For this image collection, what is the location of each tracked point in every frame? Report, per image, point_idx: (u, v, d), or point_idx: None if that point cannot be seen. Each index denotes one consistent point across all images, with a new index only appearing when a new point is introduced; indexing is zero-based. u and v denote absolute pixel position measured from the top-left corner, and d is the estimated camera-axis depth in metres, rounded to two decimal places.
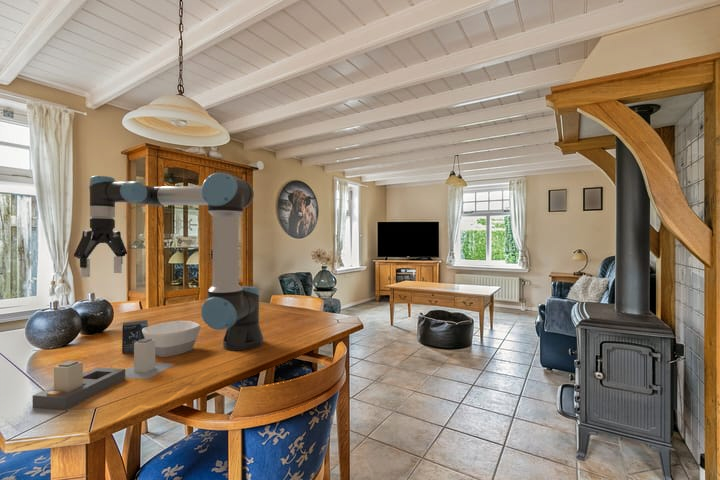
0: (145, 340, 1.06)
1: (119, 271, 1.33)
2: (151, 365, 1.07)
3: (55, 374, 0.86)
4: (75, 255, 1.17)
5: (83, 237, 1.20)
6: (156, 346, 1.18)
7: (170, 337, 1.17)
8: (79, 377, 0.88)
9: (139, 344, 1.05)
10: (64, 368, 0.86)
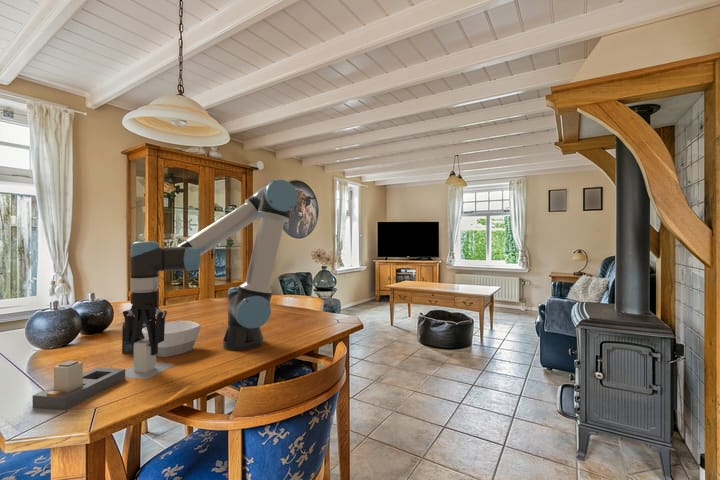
0: (145, 340, 1.06)
1: None
2: None
3: (55, 374, 0.86)
4: None
5: None
6: None
7: (170, 337, 1.17)
8: (79, 377, 0.88)
9: (139, 344, 1.05)
10: (64, 368, 0.86)
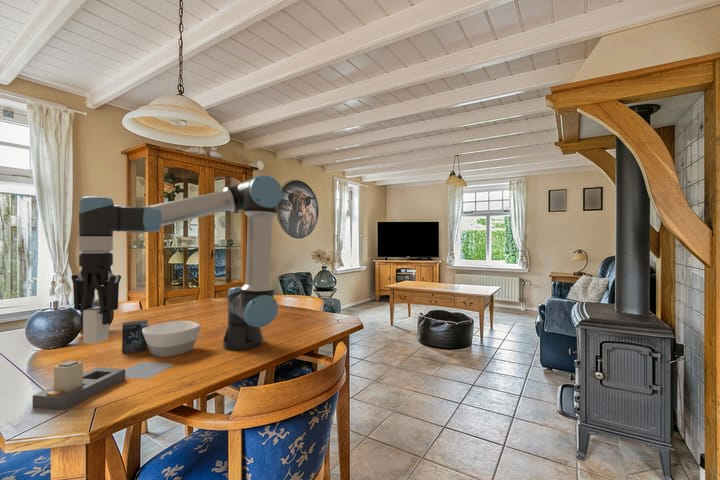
0: (96, 307, 0.95)
1: None
2: (103, 336, 0.96)
3: (55, 374, 0.86)
4: None
5: None
6: (156, 346, 1.18)
7: (170, 337, 1.17)
8: (79, 377, 0.88)
9: (89, 311, 0.93)
10: (64, 368, 0.86)
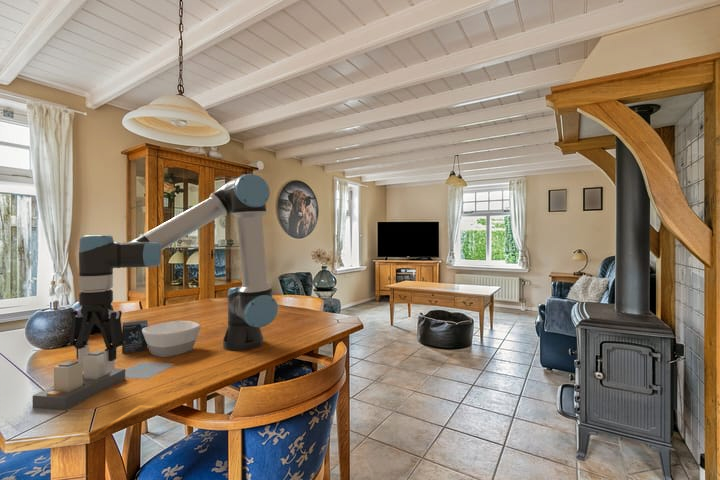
0: (97, 352, 0.95)
1: None
2: None
3: (55, 374, 0.86)
4: None
5: None
6: (156, 346, 1.18)
7: (170, 337, 1.17)
8: (79, 377, 0.88)
9: (89, 357, 0.94)
10: (64, 368, 0.86)
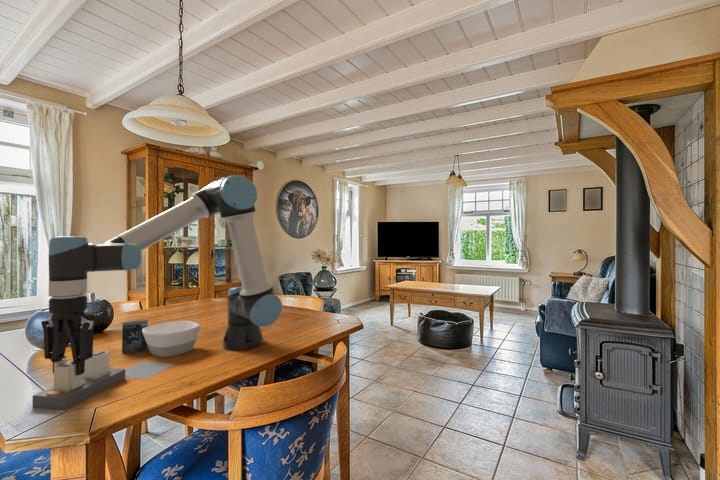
0: (97, 352, 0.95)
1: None
2: None
3: (55, 374, 0.86)
4: None
5: None
6: (156, 346, 1.18)
7: (170, 337, 1.17)
8: None
9: None
10: (64, 368, 0.86)
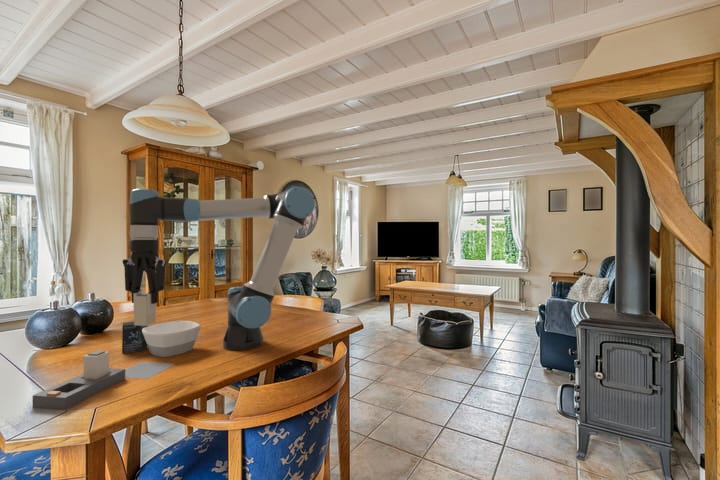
0: (97, 352, 0.95)
1: None
2: None
3: (135, 302, 1.05)
4: None
5: None
6: (156, 346, 1.18)
7: (170, 337, 1.17)
8: None
9: (89, 357, 0.94)
10: (142, 297, 1.05)
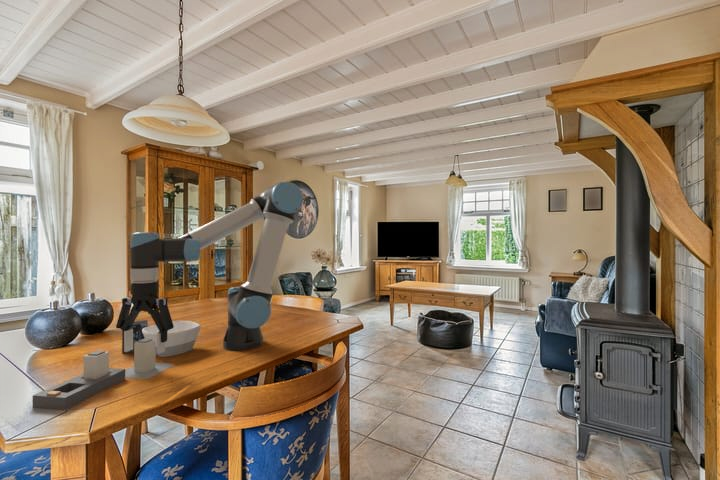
0: (97, 352, 0.95)
1: None
2: None
3: (135, 349, 1.05)
4: None
5: None
6: (156, 346, 1.18)
7: (170, 337, 1.17)
8: (153, 352, 1.08)
9: (89, 357, 0.94)
10: (143, 344, 1.05)
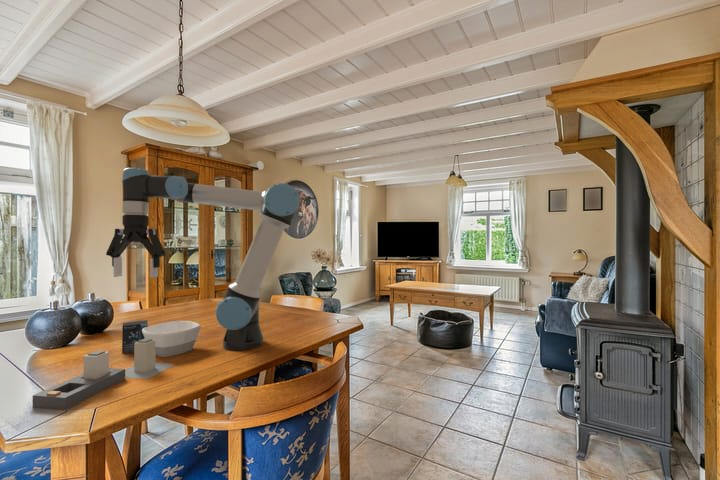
0: (97, 352, 0.95)
1: None
2: None
3: (135, 349, 1.05)
4: None
5: None
6: (156, 346, 1.18)
7: (170, 337, 1.17)
8: (153, 352, 1.08)
9: (89, 357, 0.94)
10: (143, 344, 1.05)
